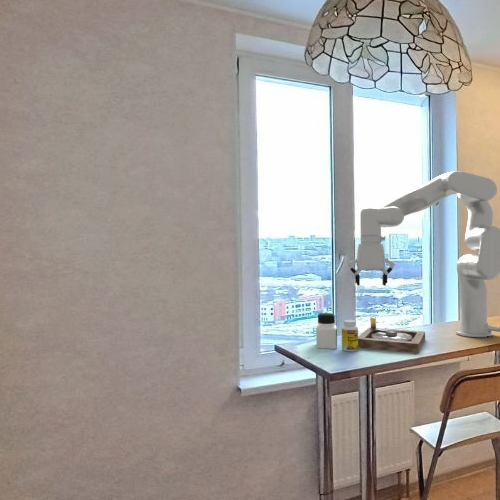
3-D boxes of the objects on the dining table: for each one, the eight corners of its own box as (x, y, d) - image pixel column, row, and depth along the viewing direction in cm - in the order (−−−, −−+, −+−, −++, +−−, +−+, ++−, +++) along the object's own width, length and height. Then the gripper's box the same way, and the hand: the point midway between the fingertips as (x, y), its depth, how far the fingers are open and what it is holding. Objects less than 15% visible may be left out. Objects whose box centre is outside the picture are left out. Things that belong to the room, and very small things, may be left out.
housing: (425, 340, 164) (425, 331, 164) (418, 353, 146) (418, 343, 146) (368, 335, 174) (368, 327, 174) (355, 347, 155) (355, 338, 155)
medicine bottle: (336, 349, 154) (336, 315, 154) (316, 348, 155) (315, 315, 155) (337, 344, 161) (336, 311, 161) (317, 343, 162) (316, 311, 162)
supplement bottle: (346, 352, 149) (346, 322, 149) (339, 348, 154) (338, 320, 154) (361, 351, 150) (360, 321, 150) (353, 347, 156) (352, 318, 155)
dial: (420, 340, 158) (419, 321, 157) (394, 346, 150) (393, 325, 150) (383, 333, 172) (383, 315, 171) (358, 338, 164) (358, 319, 164)
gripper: (392, 240, 169) (392, 284, 169) (346, 240, 171) (347, 284, 171) (396, 240, 161) (396, 286, 162) (348, 240, 164) (348, 286, 164)
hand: (371, 285), depth 166 cm, fingers open, 9 cm apart
